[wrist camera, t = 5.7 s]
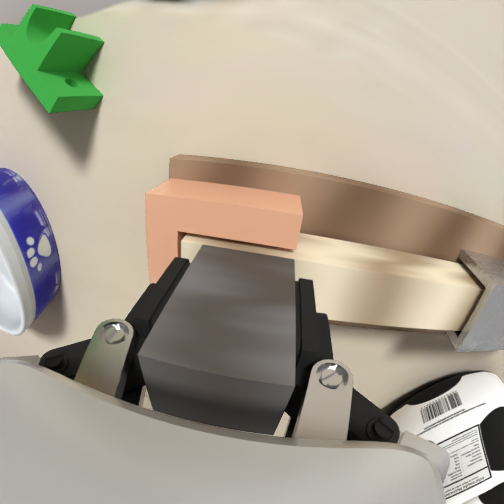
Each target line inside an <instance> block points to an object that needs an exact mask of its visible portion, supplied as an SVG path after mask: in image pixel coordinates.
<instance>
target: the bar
mask: <svg viewBox="0 0 504 504" xmlns="http://www.w3.org/2000/svg"><path fill="white" fill-rule="evenodd" d="M181 258H185V259H189V263H191V264H190V266H189V267H188V269H187V270H186V272H185V274H184V275H183V277H182V279H181V280H180V282H179V284H178V285H177V287H176V289H175V290H174V292H173V294H172V295H171V297H170V299H169V300H168V302H167V304H166V305H165V307H164V309H163V311H162V312H161V314H160V316H159V317H158V319H157V321H156V323H155V324H154V326H153V328H152V330H151V331H150V333H149V335H148V337H147V338H146V340H145V342H144V344H143V346H142V347H141V349H140V351H139V353H138V358H139V362H140V366H141V370H142V373H143V377H144V381H145V384H146V388H147V391H148V394H149V398H150V401H151V404H152V407H153V410H154V411H158V412H161V413H164V414H168V415H171V416H175V417H179V418H183V419H187V420H191V421H195V422H199V423H203V424H208V425H213V426H218V427H223V428H228V429H234V430H240V431H246V432H253V433H260V434H268V435H274V433H275V430H276V428H277V426H278V424H279V422H280V420H281V417H282V415H283V413H284V411H285V409H286V406H287V404H288V402H289V399H290V397H291V395H292V392H293V390H294V388H295V361H296V307H295V281H298V280H299V278H304V279H310V280H313V286H314V294H315V303H316V312H318V313H326V314H327V316H328V320H336V321H344V322H353V323H362V324H372V325H382V326H393V327H405V328H419V329H434V330H452V331H462V330H463V328H464V327H465V325H466V323H467V322H468V320H469V318H470V317H471V315H472V313H473V311H474V310H475V308H476V306H477V304H478V302H479V300H480V298H481V297H482V295H483V293H484V291H485V289H486V287H485V286H484V285H483V284H482V283H481V281H480V280H479V279H478V278H477V277H476V276H475V275H474V273H473V272H472V271H471V270H470V269H469V268H468V267H467V266H466V265H464V264H459V263H455V262H450V261H445V260H441V259H436V258H431V257H426V256H421V255H416V254H411V253H406V252H401V251H396V250H391V249H386V248H381V247H376V246H370V245H365V244H360V243H354V242H349V241H343V240H337V239H332V238H326V237H320V236H315V235H309V234H303V233H299V238H298V243H297V247H296V250H294V249H287V248H281V247H275V246H269V245H263V244H257V243H250V242H244V241H238V240H231V239H225V238H219V237H212V236H206V235H200V234H193V233H187V234H186V235H185V237H184V238H183V239H182V240H181Z"/></svg>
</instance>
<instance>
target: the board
mask: <svg viewBox="0 0 504 504" xmlns="http://www.w3.org/2000/svg"><path fill="white" fill-rule="evenodd" d="M170 178H172V179H182V180H192V181H201V182H209V183H218V184H225V185H233V186H240V187H248V188H255V189H261V190H268V191H274V192H281V193H287V194H293V195H298V196H300V198H301V205H302V211H303V218H302V223H301V228H300V233H303V234H309V235H315V236H320V237H326V238H332V239H337V240H343V241H349V242H354V243H360V244H365V245H370V246H376V247H381V248H386V249H391V250H396V251H401V252H406V253H411V254H416V255H421V256H426V257H431V258H436V259H441V260H445V261H450V262H455V263H459V264H464V262H463V261H462V260H461V259H460V258H459V254H460V252H461V249H465V250H469V251H473V252H477V253H480V254H484V255H488V256H491V257H495V258H499V259H502V260H504V226H503V225H501V224H498V223H495V222H493V221H490V220H488V219H485V218H482V217H479V216H477V215H474V214H471V213H468V212H465V211H462V210H460V209H457V208H454V207H451V206H447V205H444V204H441V203H438V202H435V201H431V200H428V199H425V198H421V197H418V196H414V195H411V194H407V193H404V192H400V191H396V190H392V189H389V188H385V187H381V186H377V185H373V184H368V183H364V182H360V181H355V180H351V179H346V178H342V177H337V176H332V175H327V174H322V173H317V172H311V171H306V170H300V169H295V168H289V167H283V166H276V165H270V164H263V163H256V162H248V161H240V160H232V159H223V158H214V157H204V156H192V155H177V156H175V157H172V158H170V163H169V179H170ZM464 265H465V264H464ZM328 322H329V324H336V325H345V326H354V327H364V328H374V329H385V330H397V331H410V332H426V333H445V334H447V333H446V331H445V330H434V329H419V328H405V327H393V326H382V325H372V324H362V323H353V322H344V321H336V320H328Z"/></svg>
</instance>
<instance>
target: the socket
mask: <svg viewBox="0 0 504 504" xmlns="http://www.w3.org/2000/svg"><path fill="white" fill-rule="evenodd" d="M145 200H146V234H147V252H148V266H149V278H150V284H151V283H155V284H156V283H157V281H158V280H159V278H160V277H161V276H162V274H163V273H164V271H165V270H166V269H167V267H168V266H169V265H170V263H171V262H172V260H173V259H174V258H175V257H180V258H181V240H182V239H183V238H184V237H185V235H186V234H187V233H193V234H200V235H206V236H212V237H219V238H225V239H231V240H238V241H244V242H250V243H257V244H263V245H269V246H275V247H281V248H287V249H294V250H296V247H297V243H298V238H299V233H300V228H301V223H302V218H303V211H302V205H301V198H300V196H298V195H293V194H287V193H281V192H274V191H268V190H261V189H255V188H248V187H240V186H233V185H225V184H218V183H209V182H201V181H192V180H182V179H172V178H170V179H169V180H167V181H165V182H164V183H162V184H160V185H158V186H157V187H155V188H153V189H152V190H150V191H149V192H147V193H145Z"/></svg>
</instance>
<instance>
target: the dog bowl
mask: <svg viewBox="0 0 504 504" xmlns="http://www.w3.org/2000/svg"><path fill="white" fill-rule="evenodd" d="M60 279H61V269H60V260H59V254H58V249H57V245H56V241H55V238H54V234H53V231H52V229H51V226H50V223H49V221H48V218H47V216H46V214H45V211H44V209H43V207H42V205H41V204H40V202H39V200H38V198H37V197H36V195H35V193H34V192H33V190H32V189H31V188H30V186H29V185H28V184H27V183H26V181H25V180H24V179H23V178H22V177H21V176H19V175H18V174H17V173H15V172H14V171H12V170H10V169H7V168H0V329H1V330H2V331H4V332H6V333H8V334H10V335H14V336H17V335H21V334H22V333H23V332H24V331H25V330H26V329H27V328H28V327H29V326H30V324H31V323H32V322H33V321H34V320H35V319H36V318H37V317H38V316H39V314H40V313H41V312H42V311H43V310H44V309H45V308H46V306H47V305H48V304H49V303H50V302H51V300H52V299H53V298H54V297H55V295H56V294H57V292H58V289H59V285H60Z"/></svg>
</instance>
